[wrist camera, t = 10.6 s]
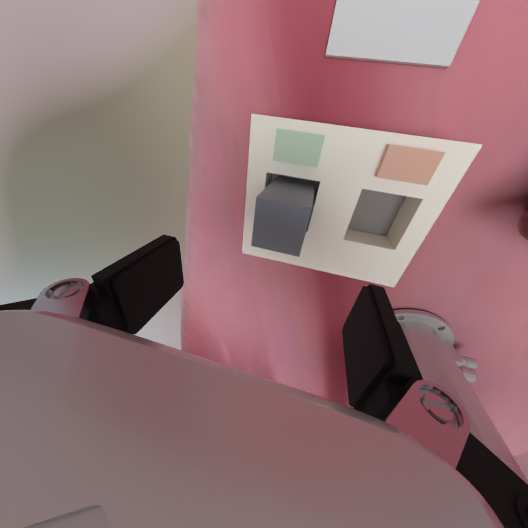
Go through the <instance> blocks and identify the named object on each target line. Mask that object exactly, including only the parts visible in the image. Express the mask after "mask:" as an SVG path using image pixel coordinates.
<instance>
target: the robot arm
mask: <svg viewBox="0 0 528 528" xmlns="http://www.w3.org/2000/svg"><path fill="white" fill-rule="evenodd" d="M92 279H93V281H94V282H93V283H92V284H89V282H88V281H87V280H85V279H81V278H70V279H65V280H61V281H59V282H55V283H53V284H51V285H49V286H48V287H46V288H45V289H44V290H43V291H42V292H41V293H40V294H39V296H38V298H36V299H30V300H26V301H20V302H15V303H9V304H5V305H0V528H528V480H527V478H526V477H525V475H524V473H523V472H522V470H521V469H520V467H519V465H518V464H517V462H516V460H515V459H514V457H513V455H512V454H511V452H510V450H509V449H508V447H507V446H506V444H505V442H504V441H503V439H502V437H501V436H500V434H499V432H498V431H497V429H496V427H495V426H494V424H493V422H492V421H491V419H490V417H489V416H488V414H487V412H486V411H485V409H484V407H483V406H482V404H481V402H480V401H479V399H478V397H477V396H476V394H475V392H474V391H473V389H472V387H471V386H470V384H469V382H470V383H474V382H475V381H476V373H475V372H474V371H473V370H472V369H476V368H477V367H478V363H477V361H476V360H475V359H472V358H468V357H464V356H459V355H458V354H457V352H456V350H455V349H454V347H453V345H454V343H455V337H454V334H453V331H452V330H451V328H450V327H449V325H448V324H447V323H446V322H445V321H444V320H443V319H441V318H440V317H438V316H436V315H434V314H432V313H429V312H425V311H421V310H413V309H400V310H393V309H392V306H391V304H390V301H389V299H388V297H387V294H386V292H385V289H384V288H383V287H380V286H375V285H371V284H369V285H368V286H367V287H366V286H364V287H363V288H362V290H361V292H360V294H359V296H358V298H357V300H356V302H355V304H354V306H353V308H352V310H351V312H350V314H349V316H348V318H347V320H346V322H345V324H344V326H343V331H342V334H343V344H344V355H345V365H346V376H347V386H348V397H349V404H350V406H352V407H354V409H353V408H350V407H347V406H344V405H342V404H339V403H336V402H333V401H330V400H327V399H325V398H322V397H319V396H316V395H313V394H310V393H308V392H305V391H302V390H299V389H296V388H293V387H290V386H287V385H284V384H281V383H278V382H275V381H272V380H269V379H266V378H263V377H260V376H257V375H254V374H251V373H248V372H245V371H242V370H239V369H236V368H233V367H230V366H227V365H224V364H221V363H218V362H215V361H212V360H209V359H206V358H203V357H200V356H197V355H194V354H191V353H188V352H185V351H182V350H178V349H175V348H172V347H169V346H166V345H163V344H160V343H157V342H154V341H151V340H148V339H145V338H141V337H138V336H135V335H133V334H136V333H137V332H138V331H139V330H140V329H141V328H142V327H143V326H144V325H145V324H146V323H147V322H148V321H149V320H150V319H151V318H152V317H153V316H154V315H155V314H156V313H157V312H158V311H159V310H160V309H161V308H162V307H163V306H164V305H165V304H166V303H167V302H168V301H169V300H170V299H171V298H172V297H173V296H174V295H175V294H176V293H177V292H178V291H179V290H180V289H181V288H182V286H183V283H184V280H183V271H182V262H181V254H180V245H179V242H178V241H177V239H176V238H175V237H171V236H167V235H162V236H160V237H159V238H157V239H155V240H153V241H152V242H150V243H148V244H146V245H145V246H143V247H141V248H139V249H138V250H136V251H134V252H132V253H131V254H129V255H127V256H125V257H124V258H122V259H120V260H118V261H117V262H115V263H113V264H111V265H110V266H108V267H106V268H104V269H103V270H101V271H99V272H97V273H96V274H94V275H92ZM461 365H462V366H464V367H462V366H461ZM466 367H468V368H466ZM469 368H472V369H469Z"/></svg>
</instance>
